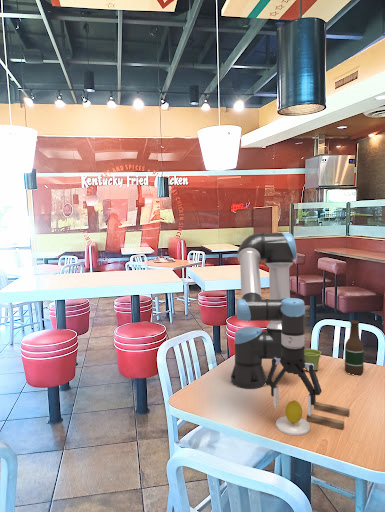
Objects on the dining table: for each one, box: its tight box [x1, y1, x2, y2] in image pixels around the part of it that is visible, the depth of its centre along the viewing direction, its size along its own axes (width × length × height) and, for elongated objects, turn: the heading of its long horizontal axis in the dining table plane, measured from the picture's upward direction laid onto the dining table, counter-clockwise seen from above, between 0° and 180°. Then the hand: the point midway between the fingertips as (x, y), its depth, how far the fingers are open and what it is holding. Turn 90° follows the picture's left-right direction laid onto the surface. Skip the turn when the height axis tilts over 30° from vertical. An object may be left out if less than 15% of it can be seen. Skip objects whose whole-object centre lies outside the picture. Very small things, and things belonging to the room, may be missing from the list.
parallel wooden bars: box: [306, 401, 350, 430], centre depth 137 cm, size 12×12×2 cm
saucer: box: [275, 415, 311, 436], centre depth 132 cm, size 11×11×1 cm
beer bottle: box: [344, 319, 365, 376], centre depth 177 cm, size 8×8×24 cm
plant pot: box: [303, 348, 322, 370], centre depth 181 cm, size 9×9×9 cm
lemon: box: [284, 399, 303, 424], centre depth 131 cm, size 6×6×8 cm
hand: (292, 409), depth 131 cm, fingers open, 11 cm apart
